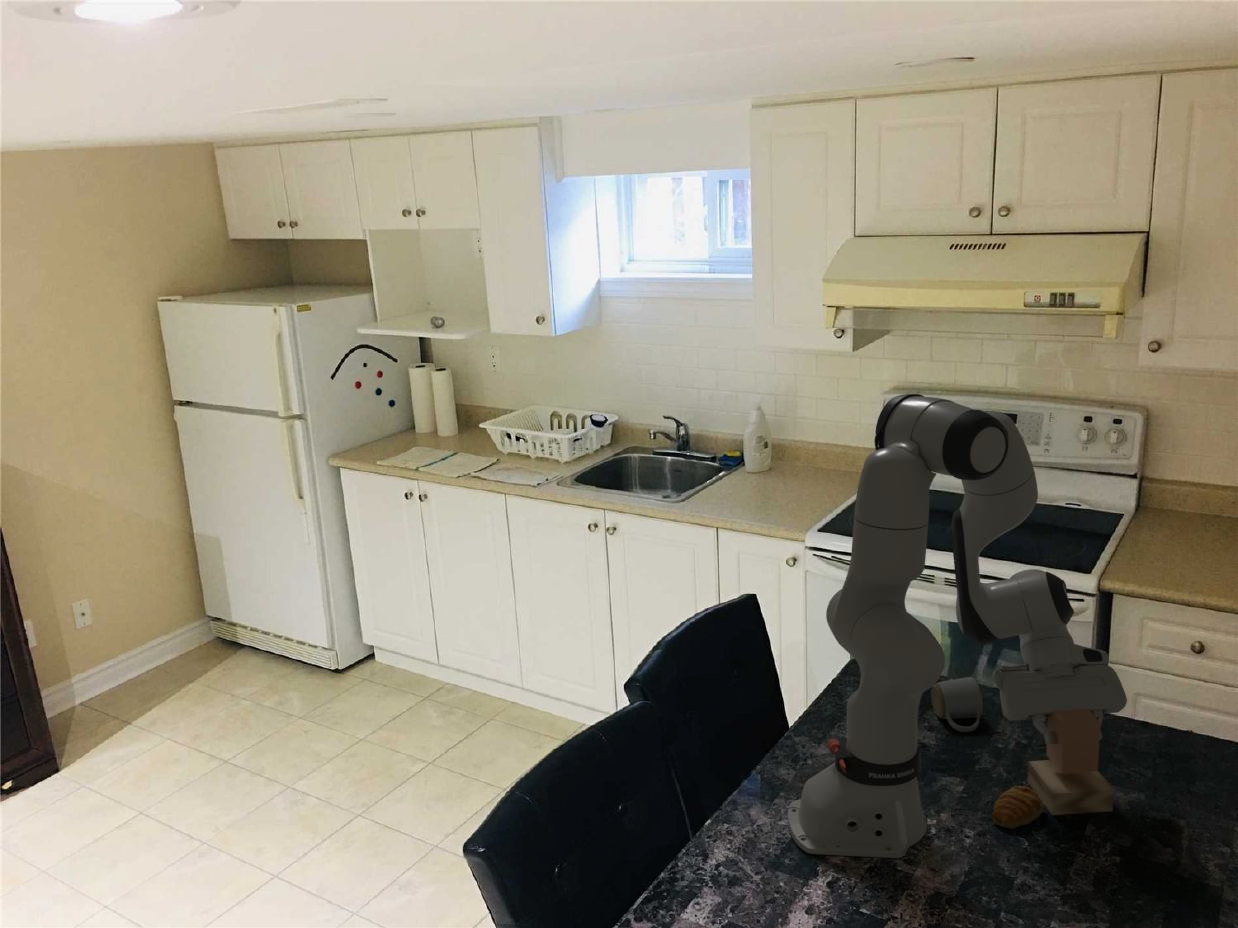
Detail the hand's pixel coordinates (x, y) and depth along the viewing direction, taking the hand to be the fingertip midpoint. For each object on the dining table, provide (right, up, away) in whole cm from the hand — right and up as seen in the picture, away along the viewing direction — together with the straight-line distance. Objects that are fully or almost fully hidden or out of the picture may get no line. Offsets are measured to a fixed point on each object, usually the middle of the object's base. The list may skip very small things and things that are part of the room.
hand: (1074, 741), depth 173 cm
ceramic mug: (-9, -4, +30) cm, 32 cm away
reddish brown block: (0, -4, +2) cm, 4 cm away
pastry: (-10, -12, -1) cm, 16 cm away
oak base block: (0, -10, +3) cm, 11 cm away
